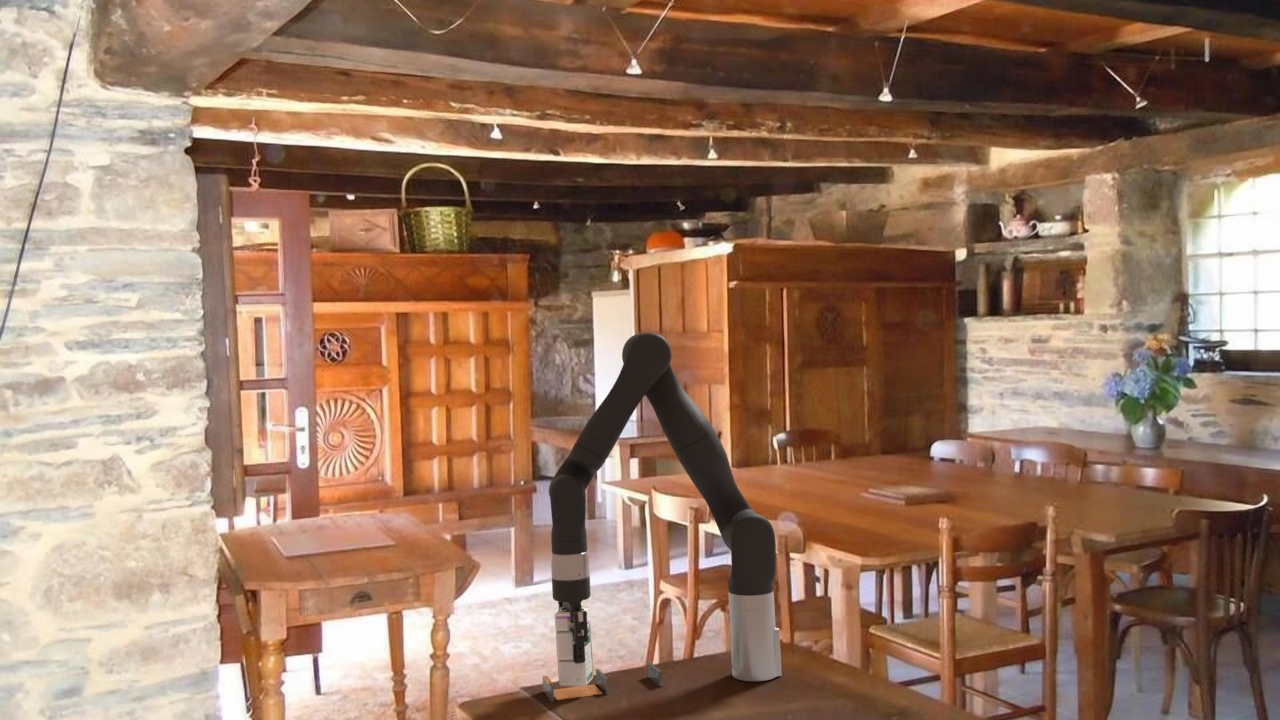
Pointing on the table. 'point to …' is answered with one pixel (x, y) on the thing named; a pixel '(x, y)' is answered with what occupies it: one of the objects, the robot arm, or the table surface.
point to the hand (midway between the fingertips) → (574, 657)
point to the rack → (591, 689)
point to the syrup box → (566, 666)
